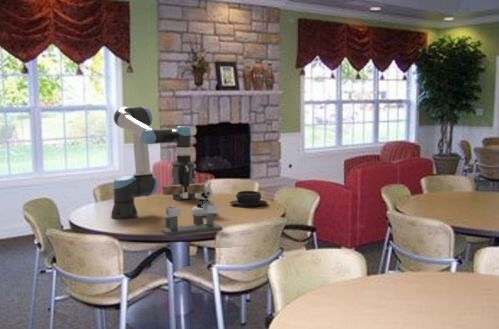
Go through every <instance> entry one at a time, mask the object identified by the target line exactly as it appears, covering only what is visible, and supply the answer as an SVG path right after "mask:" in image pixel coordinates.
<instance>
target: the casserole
mask: <svg viewBox="0 0 499 329" xmlns="http://www.w3.org/2000/svg"><path fill="white" fill-rule="evenodd" d="M235 197H236V200H231V201H230V202H229V203H230V204H231V205H235V206H236V205H237V206H242V207H246V206H251V207H257V206H259V205H266V204H268V201H267V200H261V198H262V194H261V192H259V191H255V190H242V191H241V190H240V191H238V192H237V194H236V196H235Z"/></svg>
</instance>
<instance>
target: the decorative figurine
mask: <svg viewBox="0 0 499 329" xmlns="http://www.w3.org/2000/svg"><path fill="white" fill-rule="evenodd" d="M211 184H212V181H210V182H208V183H207V184H205V192H203V193H195V195H196V196H197V198H198V199H199V200H198V202H197V205H195V206H193V207H192V208H191V212H192V214H193V215H194V214H201V215H203V217H206V212H204V211H203V204H208V203H211V202H210V198H211V197H212V196H213V195H212V194H213V190H212V188H211ZM214 215H216V213H214Z"/></svg>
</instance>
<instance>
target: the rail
mask: <svg viewBox="0 0 499 329" xmlns="http://www.w3.org/2000/svg"><path fill="white" fill-rule="evenodd" d="M205 185H206V184H205V183H201V182H200V183H195V184H189V186H188V194H189V193H195V194H196V193H203V192H205ZM182 186H183V184H182V185H172V184H170V185H169V184H168V185H162V194H163V195H164V196H171V195H172V196H173V195H174V194H183V187H182Z"/></svg>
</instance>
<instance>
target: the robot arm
mask: <svg viewBox="0 0 499 329" xmlns="http://www.w3.org/2000/svg"><path fill="white" fill-rule="evenodd" d="M113 121H114V123H115V125H116V126H117V127H119V128H121V129H126V130H128V131H130V132H131V133H132V142H133V154H134V165H135V166H134V167H135V172H134V174H133V175H126V176H123V175H122V176H120V177H117V178H114V180H113V184H112V185H113V186H112V187H113V188H112V189H113V206H112V210H111V213H110V214H111V215H110V218H112V219H118V220H122V219H123V220H124V219H126V220H127V219H133V218H137V217H138V215H139V214H138V209H137V207H136V205H135V199H136V198H142V197H149V196H154V195H155V193H156V192H157V191H158V187H159V182H158V180H157V179H158V178H157V177H156V176H154V173H153V172H152V171H151V165H150V164H151V163H150V152H149V145H156V144H176V161H177V162H179V163H180V165H178V181H179V184H180V185H182V184H183V186H182V187H183V194H180V197H183V198H188V186H189V172H190V168H188V164H187V163H188V162H191V161H192V160H191V159H192V158H191V157H192V156H191V154H192V153H191V151H192V147H191V144H192V142H191V139H192V136H191V135H192V133H191V127H190V126H188V125H186V126H185V125H179V126H177V127H176V128H175V129H174V128H166V129H155V128H153V127H151V125H152V124H153V114H152V112H151V110H150V109H149V108H148V107H146V106H122V107H120V108H118V109H117V110H116V111H115V113H114V115H113Z"/></svg>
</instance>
